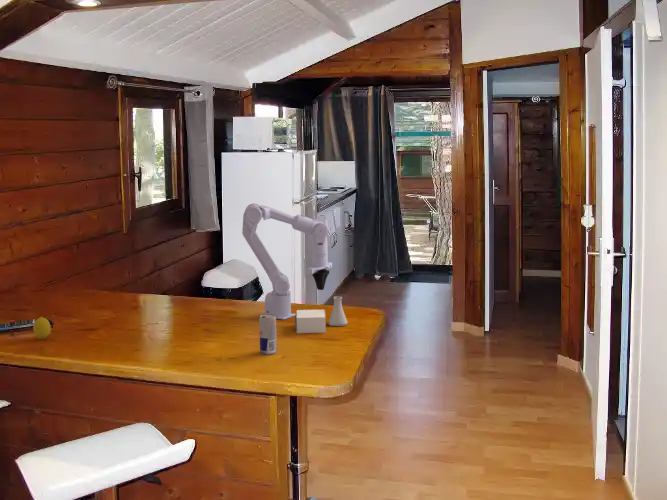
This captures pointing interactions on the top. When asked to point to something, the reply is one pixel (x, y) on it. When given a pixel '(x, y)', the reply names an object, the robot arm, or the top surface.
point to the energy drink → (267, 334)
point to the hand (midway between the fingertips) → (320, 289)
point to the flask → (337, 314)
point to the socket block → (310, 321)
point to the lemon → (41, 328)
